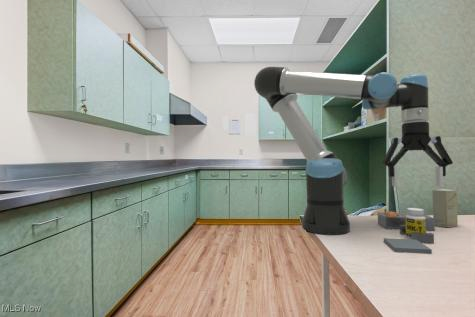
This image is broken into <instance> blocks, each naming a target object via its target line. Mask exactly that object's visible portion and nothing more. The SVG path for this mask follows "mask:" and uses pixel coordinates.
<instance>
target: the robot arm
mask: <svg viewBox="0 0 475 317" xmlns="http://www.w3.org/2000/svg"><path fill="white" fill-rule="evenodd" d="M396 78H397V77H395V75H393V73H390V72H387V71H386V72H385V71H383V72H378V73H376V74H373V75H372V74H371V75H370V74H353V73H352V74H351V73H337V72H336V73H335V72H334V73H333V72H319V71H318V72H317V71H304V70H303V71H300V70H290V68H288V67H284V66H283V67H282V66H267V67H264V68H261V70H259V71H258V72H257V73H256V76H255V77H254V83H253V84H254V89H255V91H256V93H257V94H258V95H259V96H260V97H263V99H265V100H266V101H267V103H268V104H269V106H270V109H271V110H272V112H275V113H277V114H279V116H280V118H281V120H282V121H283V123H284V126H286V128H287V130H288V131H289V133H290V135H291V137H292V138H293V139H294V142H295V144H296V145H297V146H298V149H299V150H300V152H301V154H302V155H303V157H304V158H305V160H306V166H305V175H306V176H305V177H306V207H305V211H304V214H303V218H302V221H301V228H302V230H305V231H306V232H310V233H314V234H320V235H344V234H347V233H349V232H350V231H351V223H350V220H349V218H348V215H347V212H346V209H345V206H344V205H345V204H344V187H345V185H346V184H347V181H348V173H347V170H346V168H345V167H344V166H343V161H342V160H341V159H339V158H337V156H336V154H335V153H334V152H333V151H329V150H327V148H326V146H325V145H324V143H323V142H322V140H321V138H320V137H319V135H318V133H317V132H316V131H315V129H314V127H313V125H312V124H311V122H310V121H309V119H308V117H307V116H306V114H305V113H304V111H303V109H302V108H301V106H300V105H299V103H298V97H299V96H298V94H300V95H301V94H302V95H309V96H310V95H312V96H321V97H332V98H333V97H334V98H341V99H342V98H344V99H354V100H362V103H361V104H362V109H363V110H373V111H374V110H377V109H378V110H379V109H386V108H398V107H401V109H400V111H401V112H400V113H401V115H400V116H401V117H400V118H401V123H402V125H401V137H400V138H398V137H393V138H392V139H391V142H390V143H391V144H390V146H389V148H388V151H387V152H386V154H385V156H384V159H383V160H382V161H381V162H382V163H381V165H382V166H386V167H387V168H388V176H389V177H391V186H392V187H394V188H398V167H396V165H397V163H399V161H401V159H402V158H403V157H404V156H405V154H407V153H408V152H409V151H423V152H424V153H426V155H427V156H428V157H430V159H431V160H432V161H434V162H435V164H436V165H437V166H435V187H439V188H444V177H446V175H447V172H446V171H447V170H446V167H448V166H450V165H453V163H454V162H453V160H452V158H451V157H450V155H449V153H448V151H447V150H446V148H445V146H444V145H443V143H442V138H441V136H440V135H438V136H436V135H435V136H433V137H431V136H430V123H429V122H428V121H429V120H430V118H429V117H430V113H429V84H428V77H427V76H426V75H425V74H421V73H417V74H411V75H407V76H404V77H402V78H401V79H400V82H399V83H398V81H397V79H396ZM400 143H401V144H402V147H401V148H400V150H399V151H398V152H397V153H396V155H394V153H395V152H396V150H397V148H398V145H400ZM430 143H431V144H433V147H434V148H435V150H436V152H437V153H438V154H437V153H436V152H435V151H434V150H433V149H432V147H431V145H429V144H430ZM393 155H394V157H393Z"/></svg>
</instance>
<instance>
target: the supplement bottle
mask: <svg viewBox="0 0 475 317" xmlns="http://www.w3.org/2000/svg"><path fill="white" fill-rule="evenodd" d="M406 213H407V215H406V235H405V237H406V239H412V234H411V232H420V233H427V231H426V218H425V217H424V216H423V215H424V214H425V211H424V209H423V208H417V207H407V208H406Z"/></svg>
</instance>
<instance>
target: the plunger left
mask: <svg viewBox="0 0 475 317" xmlns="http://www.w3.org/2000/svg"><path fill="white" fill-rule="evenodd" d="M385 212H386V216H397V214H396V213H397V212H396V211H387V210H386V211H385Z"/></svg>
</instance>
